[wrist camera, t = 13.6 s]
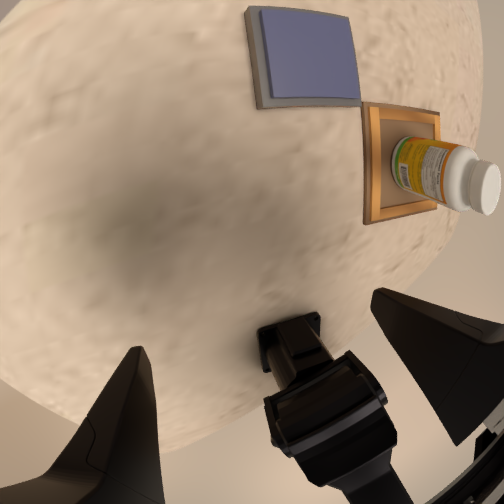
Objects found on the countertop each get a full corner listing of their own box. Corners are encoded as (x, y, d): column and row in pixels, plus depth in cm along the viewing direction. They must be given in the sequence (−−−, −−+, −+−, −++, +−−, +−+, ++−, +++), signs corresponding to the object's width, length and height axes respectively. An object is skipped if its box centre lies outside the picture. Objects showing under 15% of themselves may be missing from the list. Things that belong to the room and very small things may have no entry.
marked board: (434, 208, 26) (438, 210, 25) (363, 223, 24) (367, 226, 23) (436, 112, 21) (441, 112, 20) (360, 101, 19) (365, 101, 18)
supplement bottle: (430, 153, 22) (508, 176, 13) (413, 198, 24) (489, 234, 15) (401, 124, 20) (490, 139, 11) (381, 175, 21) (469, 208, 13)
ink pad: (351, 107, 19) (366, 106, 17) (257, 109, 17) (266, 106, 15) (339, 21, 15) (352, 15, 13) (244, 13, 14) (251, 2, 12)
